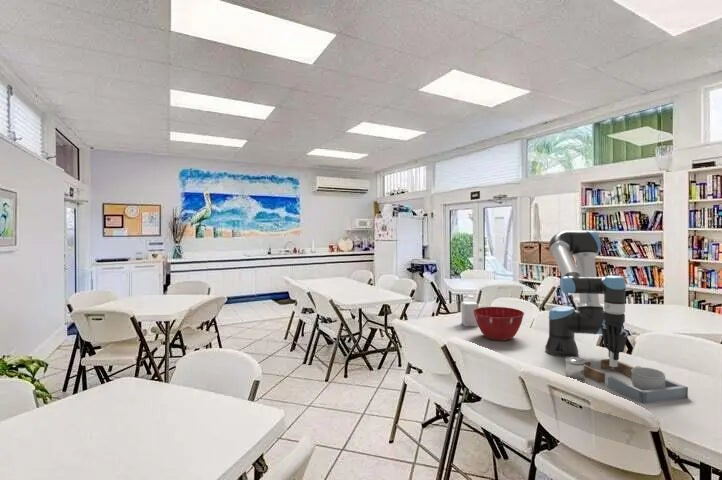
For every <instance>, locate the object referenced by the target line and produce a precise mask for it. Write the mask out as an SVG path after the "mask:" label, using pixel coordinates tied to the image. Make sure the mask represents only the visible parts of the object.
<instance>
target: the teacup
mask: <svg viewBox="0 0 722 480" xmlns="http://www.w3.org/2000/svg"><path fill="white" fill-rule="evenodd" d="M634 367H635V368H633V369H631V374H632V377H631V382H632V386H634V387H636V388H638V389H641V390H643V391H644V390H652V389H660V388H665V379H666V373H665V372H663V371H662V370H659V369H655V368H652V367H645V366H644V367H642V366H640V365H636V366H634Z"/></svg>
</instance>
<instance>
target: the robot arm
mask: <svg viewBox="0 0 722 480" xmlns="http://www.w3.org/2000/svg"><path fill="white" fill-rule="evenodd" d="M601 246H602V242H601V238H600V235H599V234H598V233H597V232H596V231H595V230H563V231H560V232H557V233H555V234H554V235H553V236H552V238H551V239H550V240H549V243H548V249H549V253H550V254H551V255H552V256H554V259H555V261H556V265H557V267H558V270H559V272H560V275H561V276H562V277H560V280H559V286H560V291H561V292H562V293H565V294H578V296H579V304H578V305H577V306H576V309H575V308H574V307H573V306H566V305H564V306H555V307H551V308H550V309H549V311H548V338H547V342H546V344H545V347H544V349H545V352H546V353H547V354H549V355H552V356H556V357H562V358H567V357H577V356H579V349H578V345H577V343H576V340H575V334H583V335H584V334H586V335H602V339H603V345H604V348H606V349H607V350H608V359H610V360H609V366H611V367H618V361H620V360H619V358H620V353H624V352H625V347H626V344H627V340H628V337H629V335H630V332H629V331H627V330H626V329H625V325H624V323H625V322H626V315H625V313H626V289H627V288H626V287H627V285H626V278H625V277H624V276H620V275H605V276H604V275H599V276H597V269H596V260H595V258H596V257H597V256H598V253H600V252H601V248H602V247H601ZM574 259H575V261H574ZM599 295H603V302H604V303H603V305H601V304H600V300H599V299H600V298H599Z"/></svg>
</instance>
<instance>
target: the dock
mask: <svg viewBox="0 0 722 480" xmlns="http://www.w3.org/2000/svg"><path fill="white" fill-rule="evenodd" d="M607 387H608V388H610V389H612V390H615V391H617V392H618V393H620V394H622V395H624V396H626V397H629V398H631V399H633V400H635V401H637V402H639V403H641V404H651V403H657V402H658V403H659V402H667V401H674V400H680V399H687V398H688V397H689V396H688V395H689V390H688V389H689V387H688V386H685V385H683V384H680V383H678V382H676V381H673V380H670V379H668V378H665V388H660V389H652V390H644V391H643V390H641V389H638V388H636V387H634V386H633V384H632V385H631V384H629V383H626V382H625V381H622V380H620V379H618V378H615V377H614V376H607Z"/></svg>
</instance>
